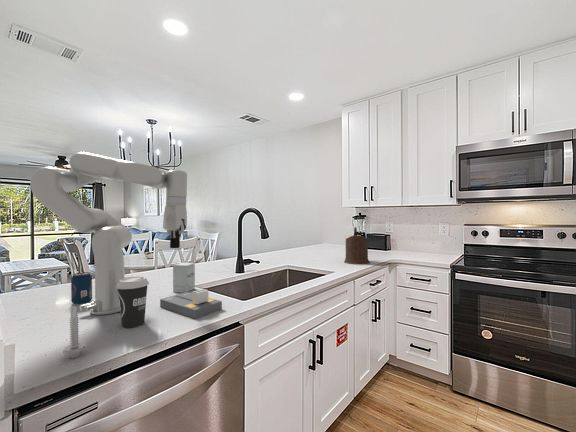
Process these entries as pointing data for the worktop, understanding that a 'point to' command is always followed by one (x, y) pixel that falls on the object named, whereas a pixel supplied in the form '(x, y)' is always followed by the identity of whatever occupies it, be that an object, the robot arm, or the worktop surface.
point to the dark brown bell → (356, 249)
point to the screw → (74, 337)
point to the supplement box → (183, 277)
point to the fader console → (190, 305)
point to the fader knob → (200, 296)
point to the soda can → (81, 288)
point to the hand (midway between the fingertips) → (174, 247)
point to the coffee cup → (132, 300)
